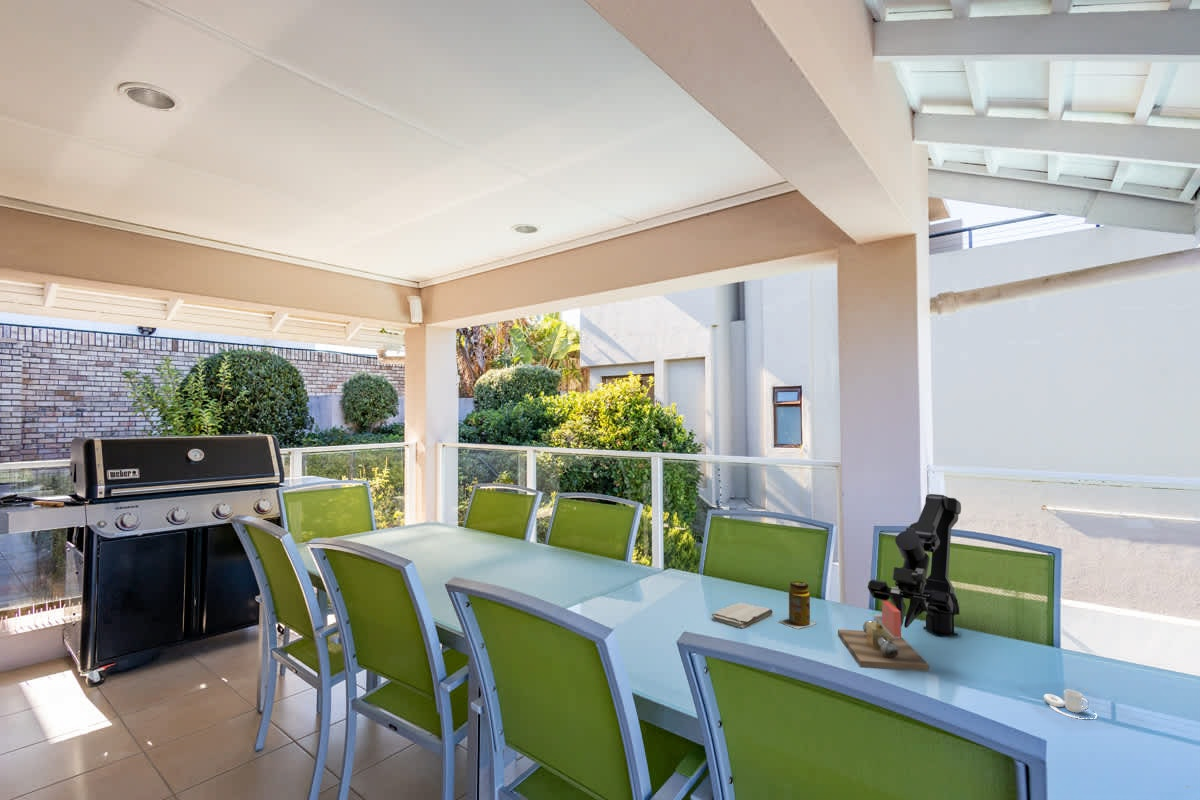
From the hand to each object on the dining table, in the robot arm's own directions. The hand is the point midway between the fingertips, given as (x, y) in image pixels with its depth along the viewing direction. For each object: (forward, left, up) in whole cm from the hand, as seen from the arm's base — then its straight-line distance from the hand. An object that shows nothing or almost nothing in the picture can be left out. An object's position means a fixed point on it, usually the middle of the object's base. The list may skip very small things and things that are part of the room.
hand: (902, 626), depth 144 cm
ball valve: (-1, -11, -9) cm, 15 cm away
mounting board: (-1, -11, -11) cm, 16 cm away
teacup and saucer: (-25, +20, -11) cm, 34 cm away
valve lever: (+1, -5, -2) cm, 6 cm away
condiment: (+11, -35, -11) cm, 38 cm away
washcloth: (+26, -41, -11) cm, 50 cm away
